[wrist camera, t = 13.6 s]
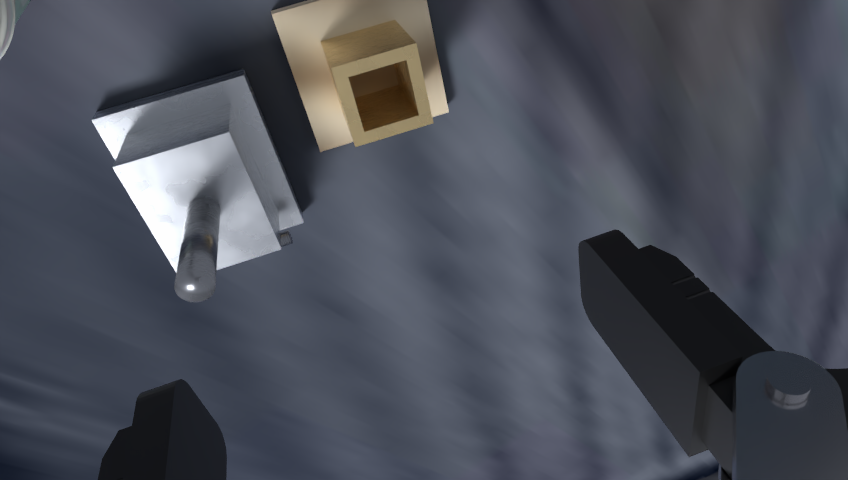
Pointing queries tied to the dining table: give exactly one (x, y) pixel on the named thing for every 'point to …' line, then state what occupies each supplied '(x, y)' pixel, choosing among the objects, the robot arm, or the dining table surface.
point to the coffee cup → (9, 20)
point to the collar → (385, 107)
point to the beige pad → (340, 14)
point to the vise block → (203, 176)
